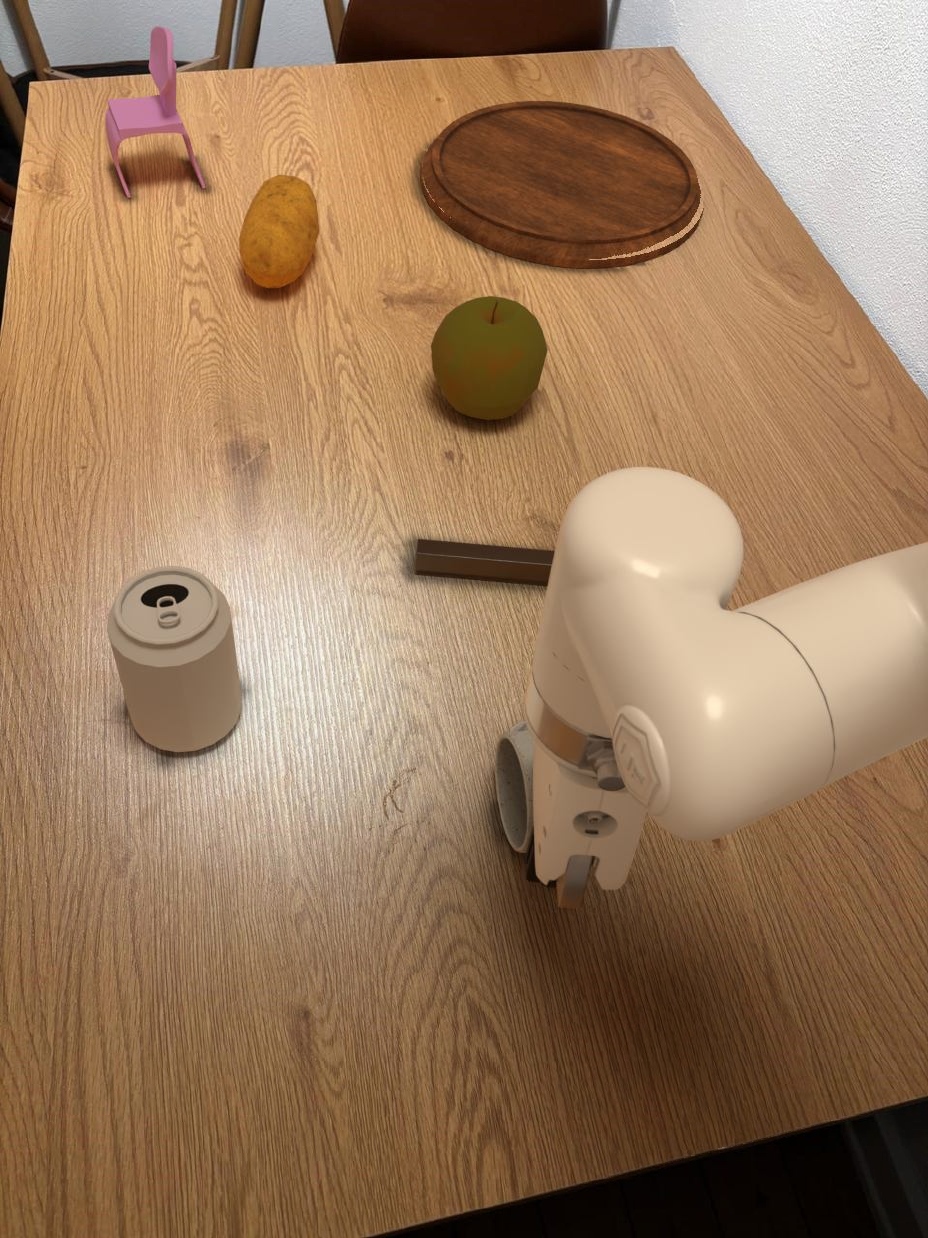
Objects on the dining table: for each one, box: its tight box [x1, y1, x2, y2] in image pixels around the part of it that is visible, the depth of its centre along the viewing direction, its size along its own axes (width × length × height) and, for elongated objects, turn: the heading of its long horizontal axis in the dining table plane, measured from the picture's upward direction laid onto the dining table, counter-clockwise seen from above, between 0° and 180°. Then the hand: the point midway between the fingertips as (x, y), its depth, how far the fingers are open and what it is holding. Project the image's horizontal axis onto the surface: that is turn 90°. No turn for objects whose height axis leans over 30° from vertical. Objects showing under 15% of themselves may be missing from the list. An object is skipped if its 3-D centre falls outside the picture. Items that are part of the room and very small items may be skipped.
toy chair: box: [104, 26, 207, 199], centre depth 114 cm, size 8×9×15 cm
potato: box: [238, 174, 320, 289], centre depth 108 cm, size 7×14×7 cm, turn 174°
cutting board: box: [419, 100, 705, 269], centre depth 124 cm, size 32×32×3 cm
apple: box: [430, 295, 548, 421], centre depth 96 cm, size 10×10×11 cm
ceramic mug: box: [494, 720, 534, 854], centre depth 72 cm, size 11×8×8 cm
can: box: [106, 565, 243, 753], centre depth 72 cm, size 8×8×12 cm
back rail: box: [414, 538, 555, 587], centre depth 87 cm, size 3×20×2 cm, turn 87°
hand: (551, 871), depth 67 cm, fingers closed
